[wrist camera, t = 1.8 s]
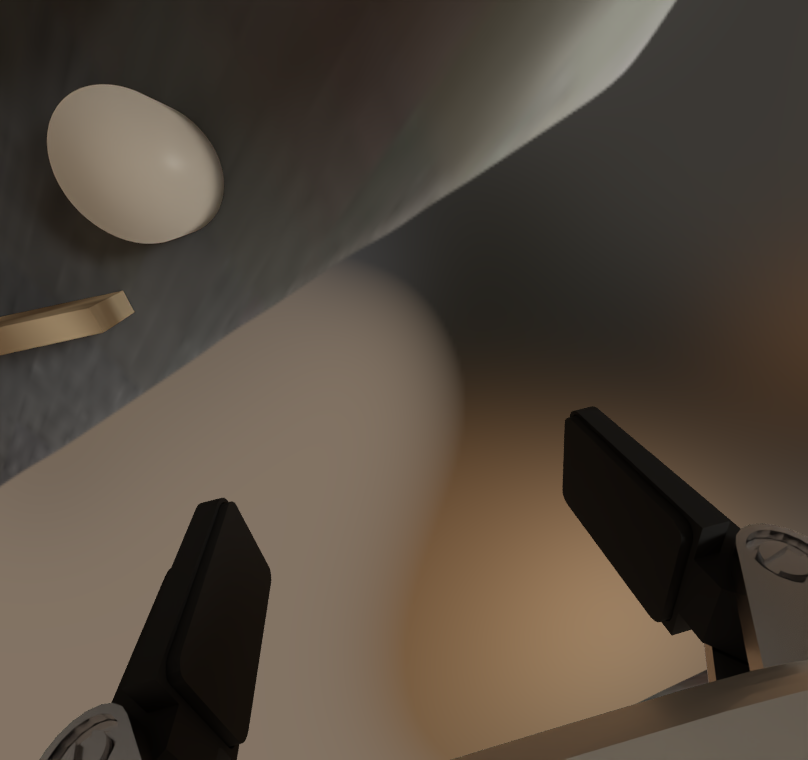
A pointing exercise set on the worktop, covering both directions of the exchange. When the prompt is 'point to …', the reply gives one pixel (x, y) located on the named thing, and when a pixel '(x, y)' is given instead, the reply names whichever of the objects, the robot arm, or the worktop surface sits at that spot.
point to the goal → (62, 322)
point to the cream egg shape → (134, 164)
